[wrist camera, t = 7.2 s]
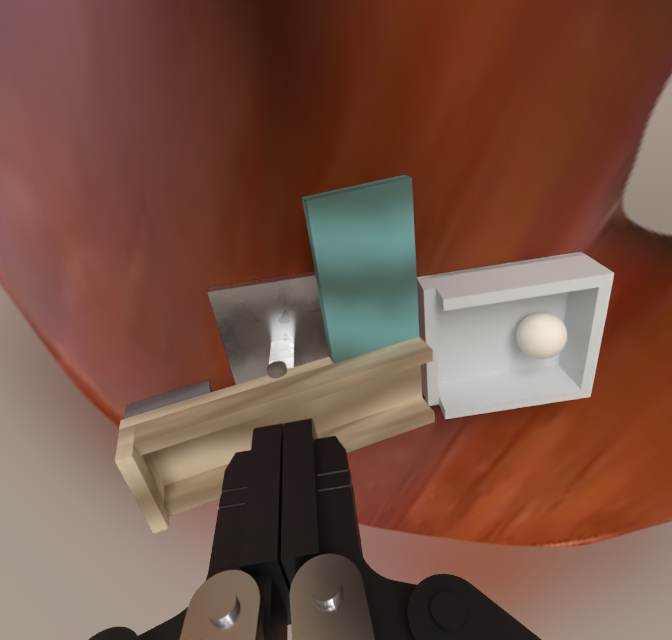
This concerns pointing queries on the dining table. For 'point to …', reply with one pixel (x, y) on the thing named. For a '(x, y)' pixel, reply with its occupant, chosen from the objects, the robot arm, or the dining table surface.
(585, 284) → the tray
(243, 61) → the dining table surface
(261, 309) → the lever stand
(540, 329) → the ball
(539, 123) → the dining table surface
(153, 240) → the dining table surface
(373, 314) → the lever
